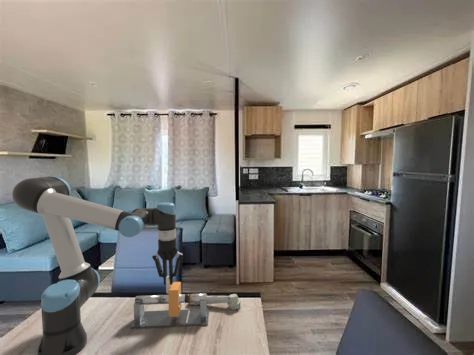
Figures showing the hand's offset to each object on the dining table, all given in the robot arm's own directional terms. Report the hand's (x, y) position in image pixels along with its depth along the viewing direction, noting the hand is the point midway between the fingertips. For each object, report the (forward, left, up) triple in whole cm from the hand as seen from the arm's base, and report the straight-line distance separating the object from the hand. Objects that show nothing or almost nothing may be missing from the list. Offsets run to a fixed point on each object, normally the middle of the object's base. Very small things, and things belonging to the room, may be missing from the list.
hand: (168, 291), depth 111 cm
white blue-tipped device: (+20, +9, -13) cm, 25 cm away
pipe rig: (+1, 0, -12) cm, 12 cm away
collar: (+3, 0, -9) cm, 9 cm away
